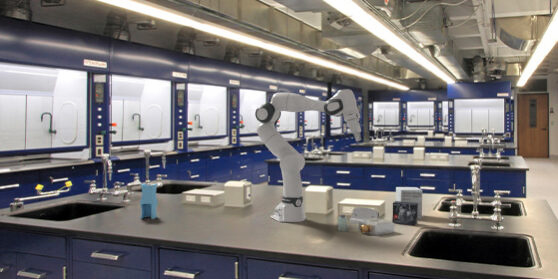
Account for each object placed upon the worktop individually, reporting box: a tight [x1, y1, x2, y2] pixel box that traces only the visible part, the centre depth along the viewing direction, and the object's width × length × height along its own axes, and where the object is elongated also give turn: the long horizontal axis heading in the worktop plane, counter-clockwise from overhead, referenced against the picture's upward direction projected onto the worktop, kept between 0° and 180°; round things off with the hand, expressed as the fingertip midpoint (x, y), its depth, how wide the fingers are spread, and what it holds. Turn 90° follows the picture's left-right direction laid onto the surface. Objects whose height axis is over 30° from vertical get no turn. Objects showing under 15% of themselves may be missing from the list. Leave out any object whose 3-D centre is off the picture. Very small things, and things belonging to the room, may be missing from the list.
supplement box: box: [395, 186, 423, 220], centre depth 280 cm, size 13×13×18 cm
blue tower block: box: [139, 183, 159, 220], centre depth 272 cm, size 8×8×20 cm
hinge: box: [349, 206, 380, 225], centre depth 261 cm, size 17×5×10 cm, turn 58°
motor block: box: [358, 217, 395, 237], centre depth 239 cm, size 12×17×6 cm
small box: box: [391, 200, 418, 226], centre depth 261 cm, size 13×7×12 cm, turn 62°
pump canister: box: [337, 214, 348, 232], centre depth 243 cm, size 5×5×8 cm
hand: (358, 140), depth 252 cm, fingers open, 8 cm apart
